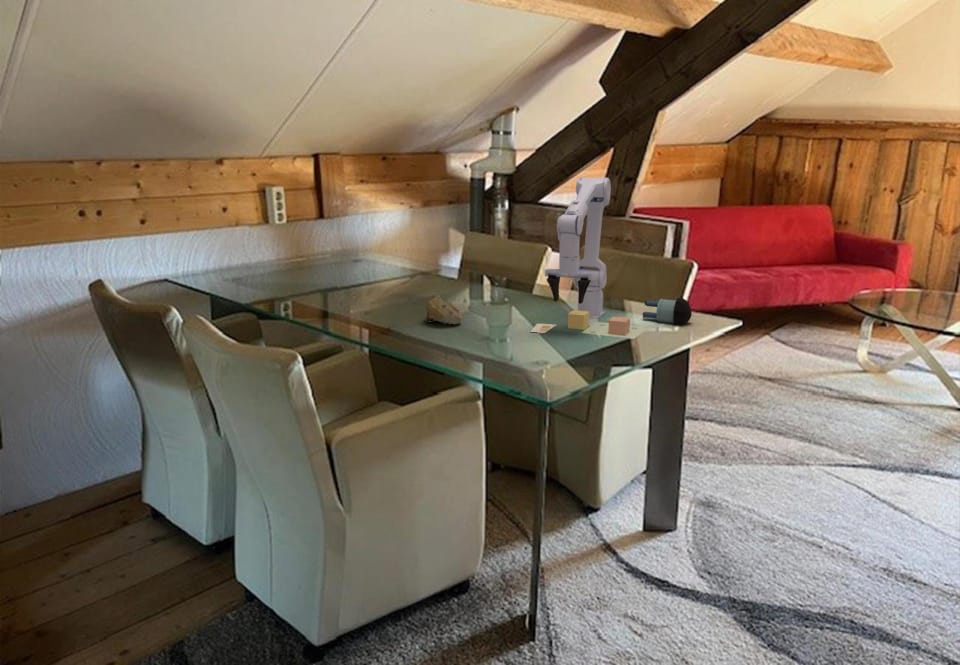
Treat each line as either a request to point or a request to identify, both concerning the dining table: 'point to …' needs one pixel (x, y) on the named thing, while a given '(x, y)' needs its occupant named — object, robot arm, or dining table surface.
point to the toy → (670, 311)
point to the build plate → (602, 329)
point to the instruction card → (542, 328)
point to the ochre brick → (578, 319)
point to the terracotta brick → (619, 325)
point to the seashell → (442, 311)
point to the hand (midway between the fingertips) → (568, 301)
